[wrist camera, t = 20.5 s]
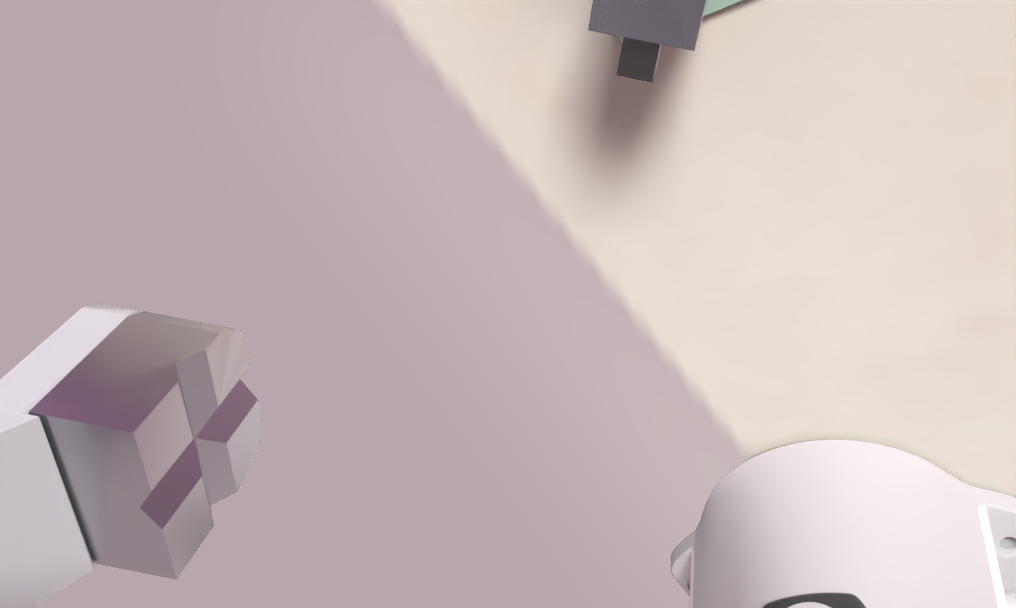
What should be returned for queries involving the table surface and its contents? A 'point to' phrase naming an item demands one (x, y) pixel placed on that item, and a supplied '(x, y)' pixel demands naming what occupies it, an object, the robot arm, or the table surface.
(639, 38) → the grey tabbed block
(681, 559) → the robot arm
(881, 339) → the table surface
